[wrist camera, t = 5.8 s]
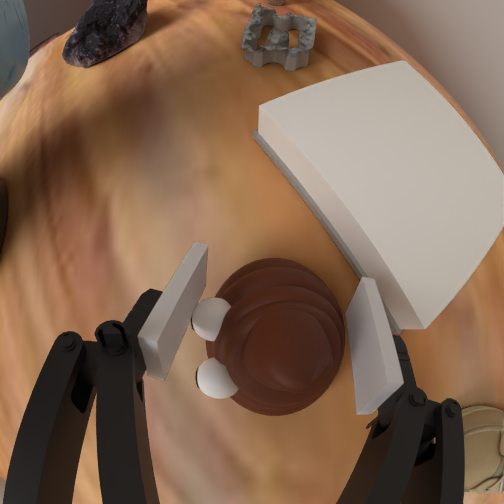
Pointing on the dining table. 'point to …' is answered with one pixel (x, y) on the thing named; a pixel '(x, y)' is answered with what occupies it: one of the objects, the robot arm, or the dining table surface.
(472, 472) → the boat shoe
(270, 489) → the dining table surface
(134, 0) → the crystal cluster
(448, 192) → the podium
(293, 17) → the stone castle ruin
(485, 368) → the dining table surface
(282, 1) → the mushroom
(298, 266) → the poop emoji
